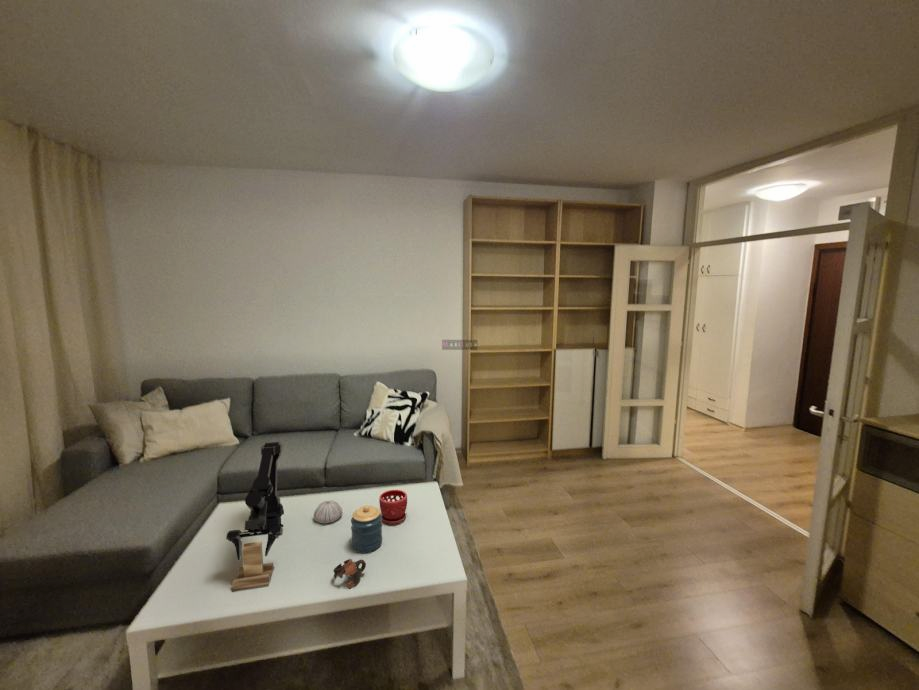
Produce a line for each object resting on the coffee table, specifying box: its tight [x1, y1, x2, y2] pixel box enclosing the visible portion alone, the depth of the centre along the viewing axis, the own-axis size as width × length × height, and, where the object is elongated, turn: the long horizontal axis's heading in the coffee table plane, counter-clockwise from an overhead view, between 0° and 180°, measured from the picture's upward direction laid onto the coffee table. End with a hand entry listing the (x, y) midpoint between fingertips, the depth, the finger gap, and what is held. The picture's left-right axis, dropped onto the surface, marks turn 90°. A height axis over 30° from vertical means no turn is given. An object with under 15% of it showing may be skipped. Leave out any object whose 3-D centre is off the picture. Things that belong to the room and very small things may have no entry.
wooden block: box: [241, 541, 264, 578], centre depth 148 cm, size 3×6×13 cm, turn 105°
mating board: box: [232, 562, 275, 593], centre depth 149 cm, size 10×12×3 cm
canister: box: [350, 504, 383, 554], centre depth 170 cm, size 13×13×18 cm
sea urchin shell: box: [313, 500, 343, 524], centre depth 190 cm, size 13×14×8 cm
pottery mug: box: [333, 558, 367, 590], centre depth 150 cm, size 12×10×8 cm
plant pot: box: [378, 489, 408, 525], centre depth 189 cm, size 13×13×12 cm
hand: (252, 558), depth 147 cm, fingers open, 9 cm apart
